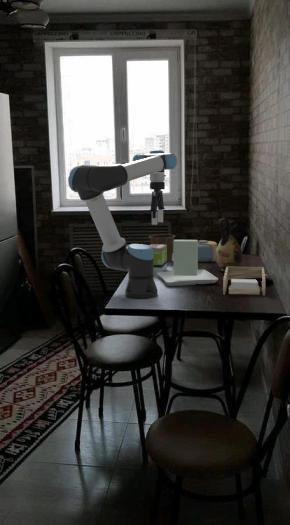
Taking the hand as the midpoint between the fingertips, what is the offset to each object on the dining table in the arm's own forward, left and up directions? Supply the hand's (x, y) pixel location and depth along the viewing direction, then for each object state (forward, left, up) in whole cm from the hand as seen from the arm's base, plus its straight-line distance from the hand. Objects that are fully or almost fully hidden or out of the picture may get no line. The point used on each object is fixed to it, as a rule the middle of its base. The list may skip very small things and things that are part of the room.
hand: (157, 223), depth 270 cm
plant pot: (+59, +8, -31) cm, 67 cm away
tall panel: (+2, -14, -27) cm, 31 cm away
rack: (-9, -44, -30) cm, 55 cm away
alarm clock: (+68, -17, -31) cm, 77 cm away
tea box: (+26, +6, -31) cm, 41 cm away
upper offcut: (-20, -44, -28) cm, 56 cm away
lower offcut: (-21, -44, -31) cm, 58 cm away
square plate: (+2, -14, -31) cm, 34 cm away
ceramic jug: (+32, -34, -31) cm, 56 cm away
